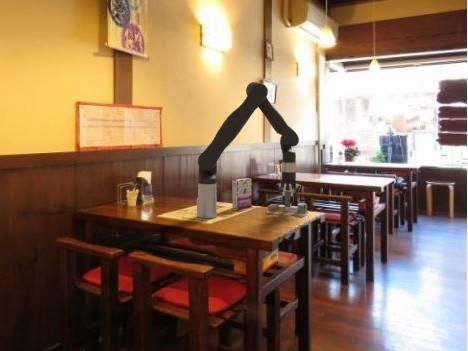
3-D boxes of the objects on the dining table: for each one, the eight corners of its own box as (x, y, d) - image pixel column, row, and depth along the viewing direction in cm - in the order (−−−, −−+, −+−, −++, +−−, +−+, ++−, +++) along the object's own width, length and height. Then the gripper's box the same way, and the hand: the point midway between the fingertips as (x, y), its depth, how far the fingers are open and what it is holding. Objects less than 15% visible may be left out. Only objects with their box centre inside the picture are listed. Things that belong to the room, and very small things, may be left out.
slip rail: (266, 213, 214) (266, 203, 214) (271, 210, 223) (271, 200, 223) (304, 216, 207) (304, 206, 207) (307, 212, 216) (308, 202, 216)
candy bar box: (246, 205, 236) (246, 178, 234) (251, 206, 233) (252, 178, 231) (231, 208, 229) (231, 179, 227) (237, 209, 225) (237, 180, 223)
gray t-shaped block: (278, 210, 215) (278, 190, 214) (279, 209, 218) (279, 190, 217) (302, 212, 211) (302, 192, 210) (303, 211, 214) (303, 191, 212)
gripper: (274, 170, 212) (273, 203, 214) (300, 172, 207) (299, 205, 209) (277, 169, 219) (277, 201, 221) (303, 170, 214) (302, 202, 216)
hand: (288, 202), depth 215 cm, fingers closed on gray t-shaped block, 3 cm apart
